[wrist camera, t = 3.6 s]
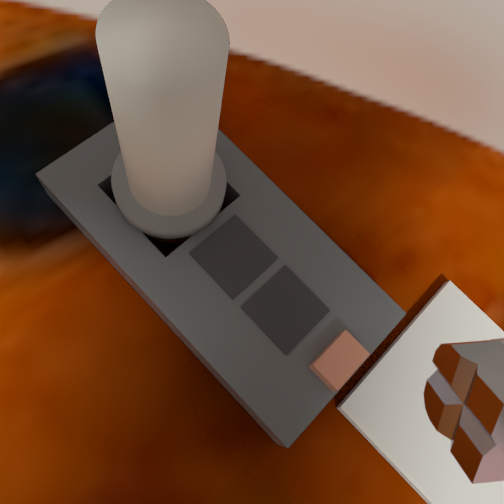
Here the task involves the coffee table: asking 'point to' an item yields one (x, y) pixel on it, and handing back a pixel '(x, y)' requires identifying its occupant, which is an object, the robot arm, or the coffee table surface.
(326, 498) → the coffee table surface
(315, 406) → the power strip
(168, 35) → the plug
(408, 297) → the coffee table surface
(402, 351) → the mat
